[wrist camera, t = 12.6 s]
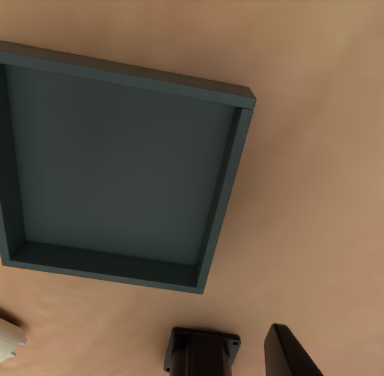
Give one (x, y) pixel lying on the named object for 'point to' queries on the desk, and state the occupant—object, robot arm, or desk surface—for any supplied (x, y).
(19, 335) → the cable
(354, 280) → the desk surface
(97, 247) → the dark green tray
